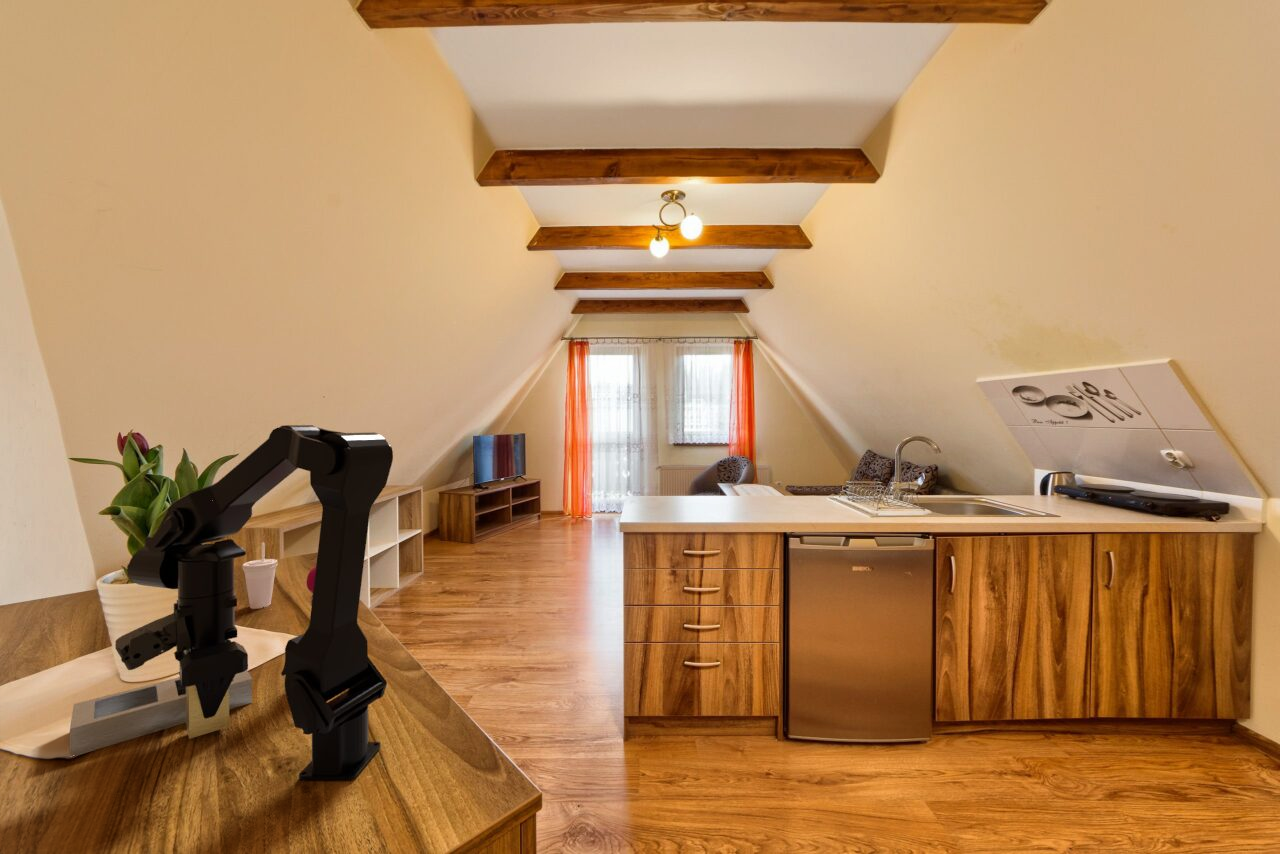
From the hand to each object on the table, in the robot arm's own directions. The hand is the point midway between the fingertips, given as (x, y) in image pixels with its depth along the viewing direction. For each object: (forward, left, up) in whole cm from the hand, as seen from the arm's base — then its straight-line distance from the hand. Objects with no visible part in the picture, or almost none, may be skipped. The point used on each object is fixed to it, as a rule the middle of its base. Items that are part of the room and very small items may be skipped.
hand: (207, 710), depth 69 cm
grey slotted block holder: (+4, +9, -3) cm, 10 cm away
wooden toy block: (0, 0, -2) cm, 2 cm away
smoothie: (+48, +28, -3) cm, 56 cm away
